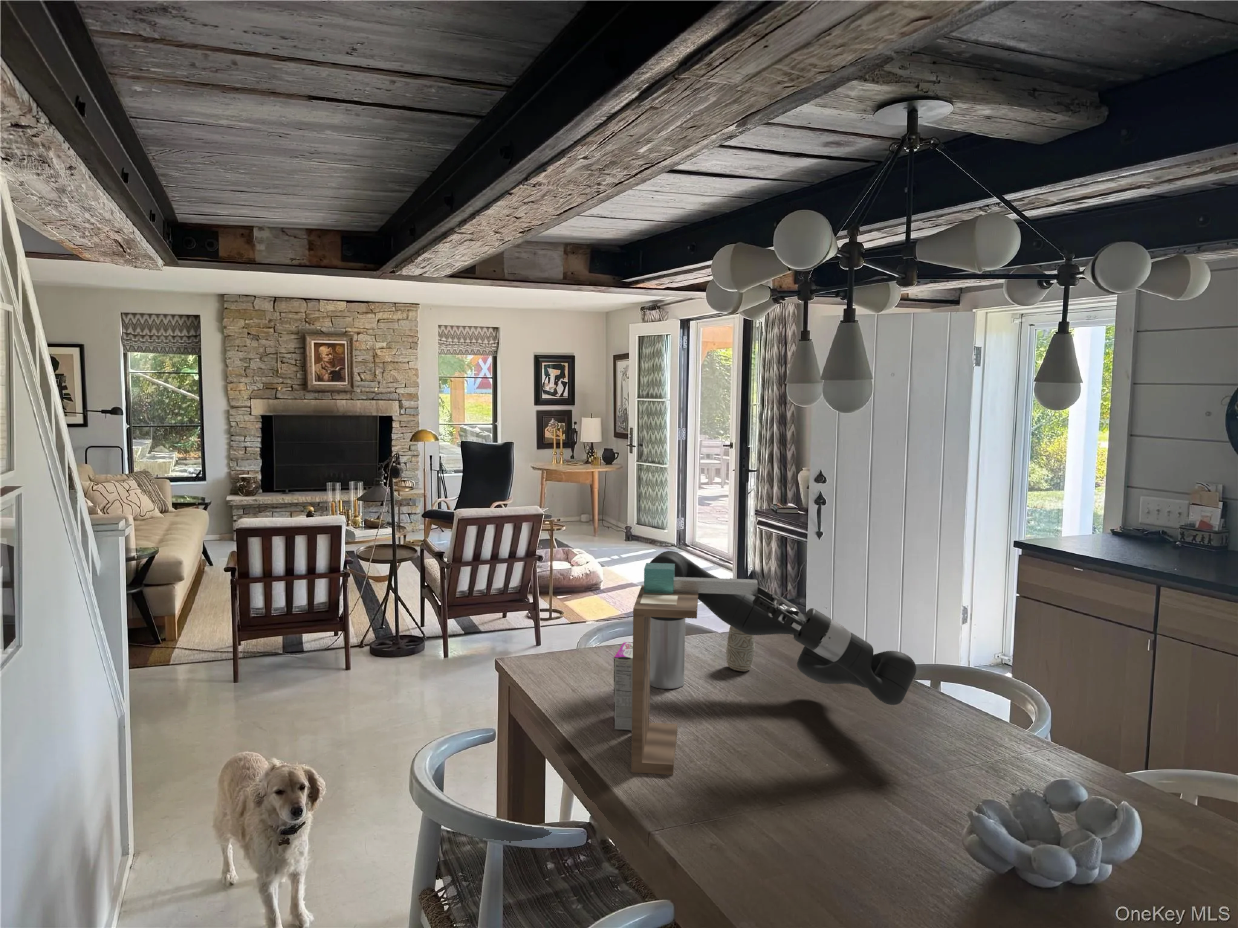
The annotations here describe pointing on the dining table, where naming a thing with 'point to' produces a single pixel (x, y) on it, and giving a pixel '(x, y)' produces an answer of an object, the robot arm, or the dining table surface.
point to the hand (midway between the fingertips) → (753, 593)
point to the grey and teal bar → (692, 582)
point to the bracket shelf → (649, 739)
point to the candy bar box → (623, 687)
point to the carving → (739, 650)
